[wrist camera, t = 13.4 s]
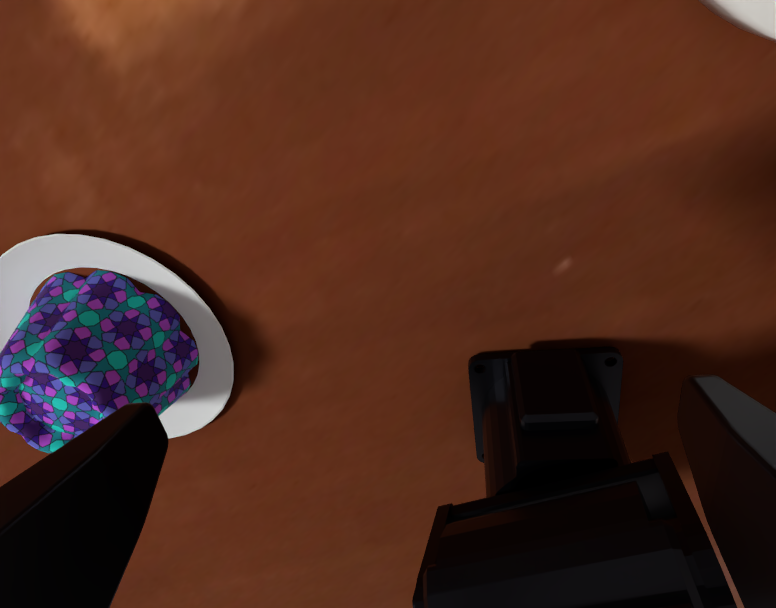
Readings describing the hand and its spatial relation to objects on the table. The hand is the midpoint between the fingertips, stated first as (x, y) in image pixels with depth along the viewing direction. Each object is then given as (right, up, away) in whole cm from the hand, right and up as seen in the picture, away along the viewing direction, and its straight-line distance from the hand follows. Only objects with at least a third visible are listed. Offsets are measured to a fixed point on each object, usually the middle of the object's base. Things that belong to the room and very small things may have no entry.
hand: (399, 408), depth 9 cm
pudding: (-13, 0, +18) cm, 22 cm away
